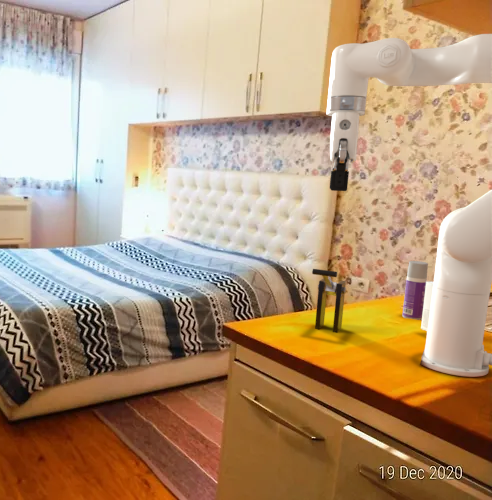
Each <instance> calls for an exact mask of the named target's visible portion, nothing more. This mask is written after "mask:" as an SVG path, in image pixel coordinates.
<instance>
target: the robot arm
mask: <svg viewBox="0 0 492 500" xmlns="http://www.w3.org/2000/svg"><path fill="white" fill-rule="evenodd" d="M331 54H332V55H331V58H330V60H331V62H330V71H329V82H328V91H327V92H328V93H327V101H326V102H327V103H326V113H325V114H326V116H329V117H331V124H330V125H331V126H330V140H329V158H330V159H329V160H330V162H332V170H331V171H330V178H329V179H330V180H329V190H330V191H333V192H347V191H348V184H349V175H350V171H349V165H350V164H353V163H356V161H357V151H358V141H359V140H358V139H359V128H360V117H362V116H365V114H366V107H367V95H368V86H369V79H370V78H375V79H376V80H377V81H378V82H380V84H382V85H386V86H389V87H437V86H450V85H451V86H453V85H454V86H457V85H467V84H492V33H481V34H476V35H472V36H470V37H467V38H465V39H463V40H461V41H458V42H456V43H453V44H449V45H445V46H439V47H431V48H428V47H427V48H411V47H410V45H409V44H408V42H406V40H405V39H402V38H399V37H388V38H382V39H379V40H375V41H369V42H366V43H358V42H357V43H356V42H355V43H354V42H352V43H344V44H341V45H338V46H336V47H335V48H334V49H333V51H332V53H331ZM349 161H350V164H349ZM433 282H434V283H433V289H432V297H431V305H430V313H429V321H428V329H427V331H426V338H425V345H424V349H423V352H422V355H421V359H420V362H419V364H420V365H421V366H423V367H425V368H428V369H430V370H433V371H436V372H439V373H444V374H447V375H451V376H452V375H453V376H457V377H458V376H459V377H467V378H468V377H469V378H478V377H483V376H486V375H487V374H489V371H490V370H489V369H490V366H492V353H489V352H488V351H486V350H485V345H484V336H485V330H486V329H485V328H486V323H487V316H488V309H489V302H490V294H491V290H492V189H490V190H489V191H487V192H486V193H484V194H483V195H481V196H479V197H478V198H476V199H475V200H474V201H472V202H470V204H468V205H467V206H465V207H460V208H457V209H455V210H453V211H451V212H449V213H448V214H447V215H446V216H445V217H444V219H443V220H442V221H441V224H440V225H439V231H438V238H437V249H436V258H435V268H434V274H433Z"/></svg>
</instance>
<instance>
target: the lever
mask: <svg viewBox="0 0 492 500" xmlns="http://www.w3.org/2000/svg"><path fill="white" fill-rule="evenodd" d="M311 273H312V275H315V276H316V275H317V276H321V277H322V279H323V278H324V280H325V283H326V289H325V291H326V293H327V295H328V296H332V297H333V296H334V297H336V292H337V283H338V282H337V281H336V282H335V281H333V280H332V278H337V277H338V271H334V270H326V269H318V268H312V271H311ZM327 295H326V296H327Z"/></svg>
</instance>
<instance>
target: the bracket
mask: <svg viewBox="0 0 492 500" xmlns="http://www.w3.org/2000/svg"><path fill="white" fill-rule="evenodd" d="M346 283H347V280H340V281H339V282H337V292H336V296H335V302H334V303H335V304H334V315H333V324H332V333H335V334H338V333H339V332H340V330H341V329H342V325H343V315H344V305H345V295H346V293H347V287H346ZM325 289H326V283H325V280H324V278H323V277H322V279H320V280H319V281H318V284H317V301H316V315H315V325H314V329H315V330H321V329H322V328H323V327H324V325H325V318H326V317H325V316H326V307H327V306H326V305H327V293H326V291H325Z"/></svg>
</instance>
